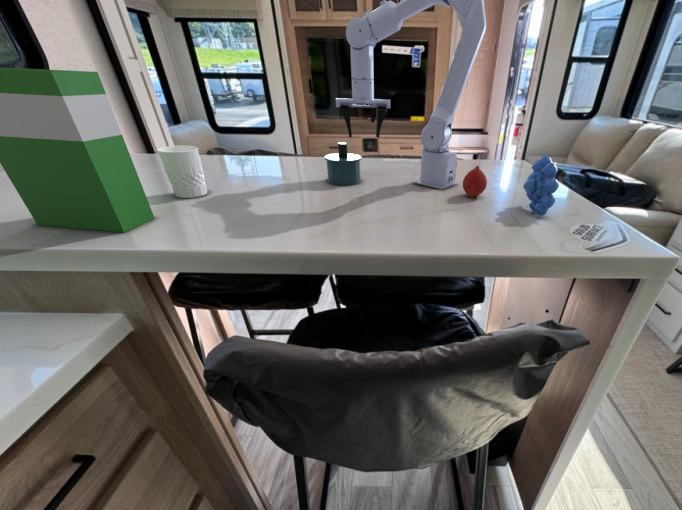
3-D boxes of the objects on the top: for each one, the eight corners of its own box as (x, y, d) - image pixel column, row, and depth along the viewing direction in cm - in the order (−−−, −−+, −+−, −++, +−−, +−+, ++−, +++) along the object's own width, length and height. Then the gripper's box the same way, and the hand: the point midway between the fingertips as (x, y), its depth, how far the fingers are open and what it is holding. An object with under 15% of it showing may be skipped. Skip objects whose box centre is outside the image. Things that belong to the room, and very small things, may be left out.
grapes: (508, 203, 82) (519, 151, 75) (534, 204, 82) (548, 151, 76) (526, 221, 72) (541, 162, 65) (556, 221, 73) (574, 163, 66)
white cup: (164, 196, 78) (148, 149, 72) (193, 187, 84) (180, 144, 78) (189, 201, 75) (174, 153, 70) (217, 192, 82) (205, 147, 76)
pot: (362, 177, 98) (361, 156, 94) (357, 186, 90) (357, 162, 87) (331, 176, 98) (330, 154, 94) (325, 184, 90) (323, 161, 87)
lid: (363, 158, 95) (362, 140, 92) (359, 166, 87) (358, 147, 84) (328, 156, 95) (327, 139, 92) (321, 164, 87) (319, 145, 84)
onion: (456, 196, 86) (460, 163, 81) (474, 194, 88) (479, 161, 83) (469, 203, 81) (474, 168, 77) (488, 200, 83) (494, 167, 79)
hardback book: (37, 224, 62) (-58, 66, 48) (74, 211, 68) (-1, 67, 54) (124, 232, 60) (51, 71, 47) (154, 218, 66) (97, 71, 53)
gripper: (334, 78, 83) (338, 139, 90) (392, 80, 85) (391, 139, 92) (334, 78, 88) (338, 135, 96) (388, 80, 90) (388, 135, 98)
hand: (364, 137), depth 94 cm, fingers open, 7 cm apart
